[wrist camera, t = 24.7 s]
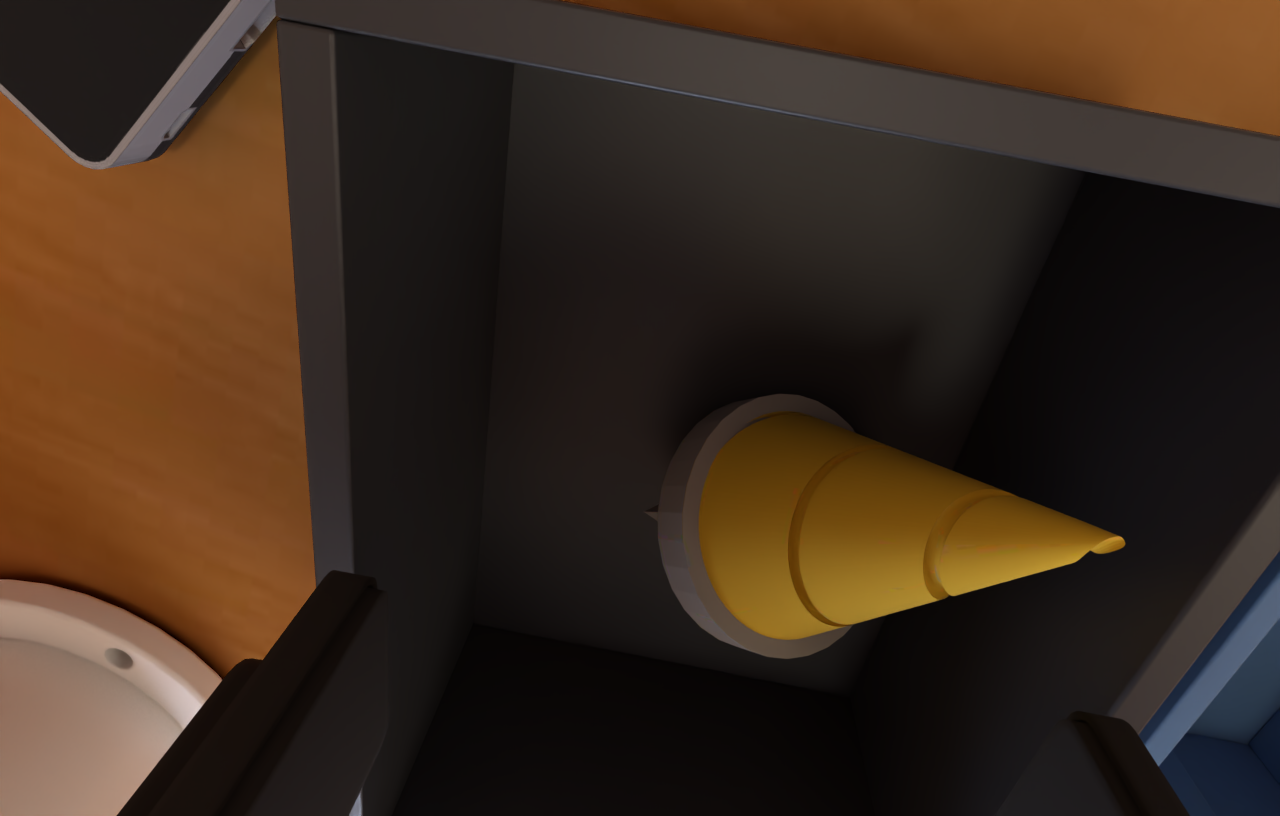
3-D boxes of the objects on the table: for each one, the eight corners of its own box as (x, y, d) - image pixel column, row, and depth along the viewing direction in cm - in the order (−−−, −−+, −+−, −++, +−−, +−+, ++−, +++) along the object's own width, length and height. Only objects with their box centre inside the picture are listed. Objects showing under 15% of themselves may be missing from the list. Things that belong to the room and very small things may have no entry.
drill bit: (608, 397, 17) (982, 292, 8) (782, 426, 19) (1216, 371, 10) (588, 626, 16) (984, 794, 7) (772, 626, 18) (1237, 751, 9)
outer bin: (859, 697, 21) (930, 1010, 14) (459, 619, 21) (336, 891, 14) (1124, 121, 13) (1562, 189, 6) (495, 2, 13) (268, -55, 6)
